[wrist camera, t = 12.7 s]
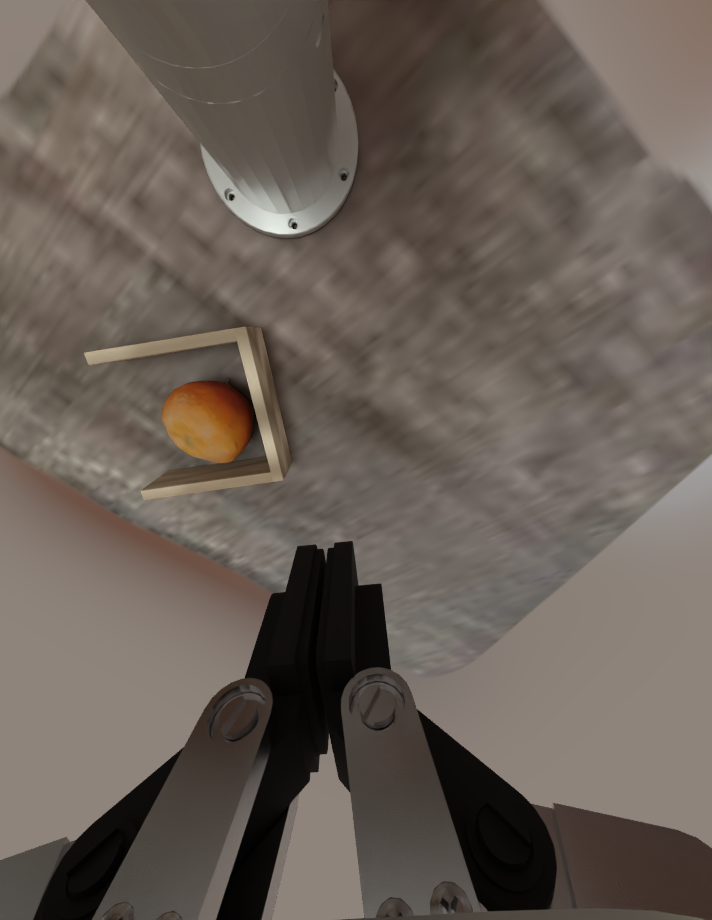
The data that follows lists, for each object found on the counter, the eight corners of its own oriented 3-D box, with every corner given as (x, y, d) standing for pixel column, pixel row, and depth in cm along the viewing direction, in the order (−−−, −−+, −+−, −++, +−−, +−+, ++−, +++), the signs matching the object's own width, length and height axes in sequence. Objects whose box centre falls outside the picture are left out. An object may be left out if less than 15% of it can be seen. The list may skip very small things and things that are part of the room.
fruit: (286, 402, 34) (239, 453, 28) (255, 438, 39) (211, 486, 34) (219, 343, 32) (155, 386, 26) (197, 389, 37) (140, 432, 32)
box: (121, 350, 33) (83, 352, 29) (261, 327, 33) (245, 326, 28) (170, 479, 38) (144, 499, 33) (292, 461, 37) (283, 480, 33)
